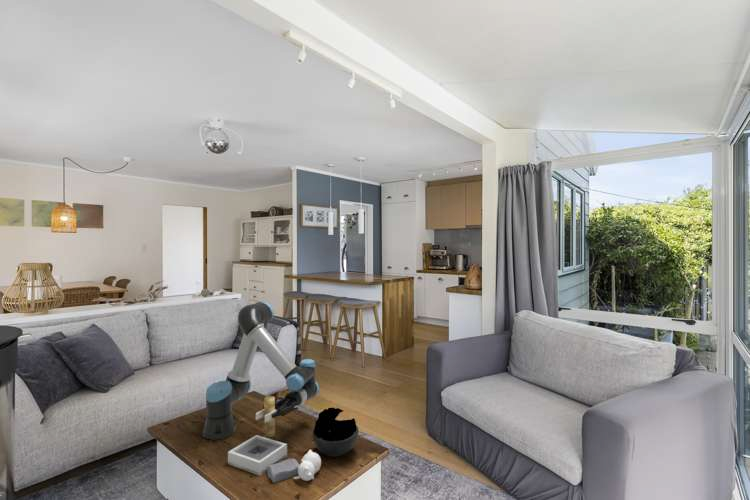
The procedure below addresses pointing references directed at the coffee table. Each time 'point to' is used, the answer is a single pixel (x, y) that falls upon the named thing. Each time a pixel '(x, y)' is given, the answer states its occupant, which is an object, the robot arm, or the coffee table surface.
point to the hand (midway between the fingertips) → (260, 417)
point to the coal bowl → (334, 433)
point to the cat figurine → (309, 466)
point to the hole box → (257, 454)
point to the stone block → (283, 470)
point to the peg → (268, 407)
